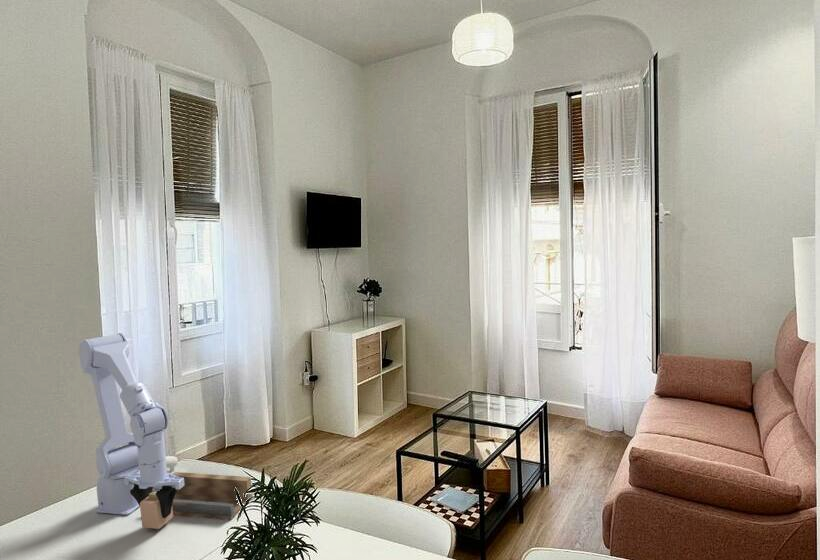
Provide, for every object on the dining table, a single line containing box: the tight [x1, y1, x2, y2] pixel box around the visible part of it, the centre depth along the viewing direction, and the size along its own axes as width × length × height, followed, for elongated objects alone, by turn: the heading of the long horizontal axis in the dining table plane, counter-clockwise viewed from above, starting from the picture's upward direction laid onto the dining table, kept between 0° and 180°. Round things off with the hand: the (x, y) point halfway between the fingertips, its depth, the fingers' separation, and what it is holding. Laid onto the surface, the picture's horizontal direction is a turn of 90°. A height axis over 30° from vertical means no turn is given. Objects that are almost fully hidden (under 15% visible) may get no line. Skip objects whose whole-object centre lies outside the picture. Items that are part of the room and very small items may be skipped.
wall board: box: [172, 472, 253, 521], centre depth 130 cm, size 22×10×6 cm, turn 78°
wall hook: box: [153, 455, 187, 491], centre depth 143 cm, size 9×10×10 cm
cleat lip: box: [172, 499, 234, 516], centre depth 126 cm, size 22×1×2 cm, turn 78°
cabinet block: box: [139, 491, 174, 530], centre depth 121 cm, size 4×5×7 cm
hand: (157, 514), depth 121 cm, fingers closed on cabinet block, 4 cm apart
